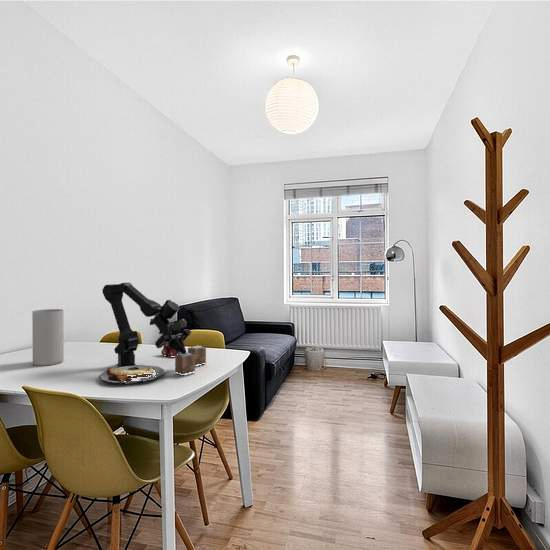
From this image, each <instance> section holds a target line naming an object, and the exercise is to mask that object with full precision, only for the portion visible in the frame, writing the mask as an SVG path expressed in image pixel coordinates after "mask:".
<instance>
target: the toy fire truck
mask: <svg viewBox="0 0 550 550" xmlns="http://www.w3.org/2000/svg"><path fill="white" fill-rule="evenodd" d="M168 345H169V344H168V342H165V343H163V347H162V349H161V352H160V353H161V355H162V354H163V355H168V354H169V355H170V356H175V355H177V354H181V352H179V351H177V350H175V349H172V348H170V347H167V346H168ZM169 355H168V356H169ZM170 356H169V357H170Z"/></svg>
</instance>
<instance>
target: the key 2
mask: <svg viewBox="0 0 550 550" xmlns="http://www.w3.org/2000/svg"><path fill="white" fill-rule="evenodd" d="M190 355H191V354H190V353H188V352H186V353H185V354H183V353H181V354H179V356H183V357H185V356H190Z"/></svg>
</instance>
